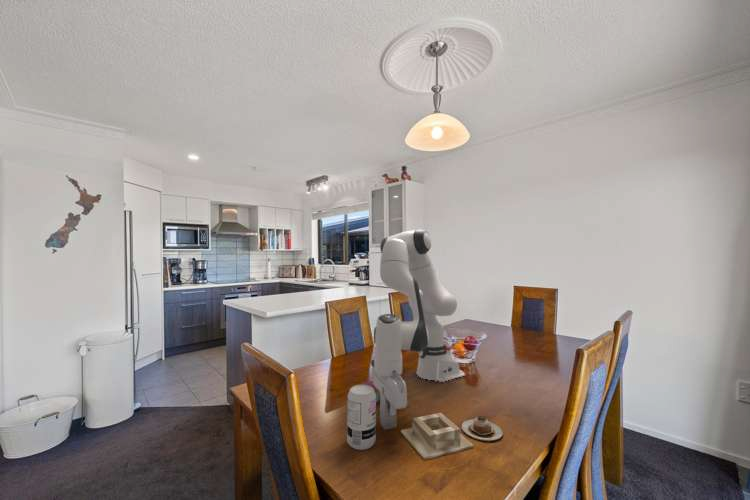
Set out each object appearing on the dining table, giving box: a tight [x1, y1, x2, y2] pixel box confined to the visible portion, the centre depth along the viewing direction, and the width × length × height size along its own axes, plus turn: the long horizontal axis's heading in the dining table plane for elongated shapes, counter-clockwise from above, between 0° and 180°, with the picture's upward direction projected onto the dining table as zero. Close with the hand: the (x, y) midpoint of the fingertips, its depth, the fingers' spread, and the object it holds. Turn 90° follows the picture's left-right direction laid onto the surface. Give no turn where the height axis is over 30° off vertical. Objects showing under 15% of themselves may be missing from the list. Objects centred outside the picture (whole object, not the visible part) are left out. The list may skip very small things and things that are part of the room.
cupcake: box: [361, 380, 380, 403], centre depth 114 cm, size 9×8×12 cm
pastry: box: [461, 414, 503, 442], centre depth 94 cm, size 12×12×5 cm
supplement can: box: [346, 384, 377, 451], centre depth 87 cm, size 8×8×15 cm
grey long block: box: [379, 387, 398, 431], centre depth 97 cm, size 4×4×12 cm
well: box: [400, 412, 475, 461], centre depth 89 cm, size 16×14×5 cm
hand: (388, 410), depth 97 cm, fingers open, 4 cm apart
